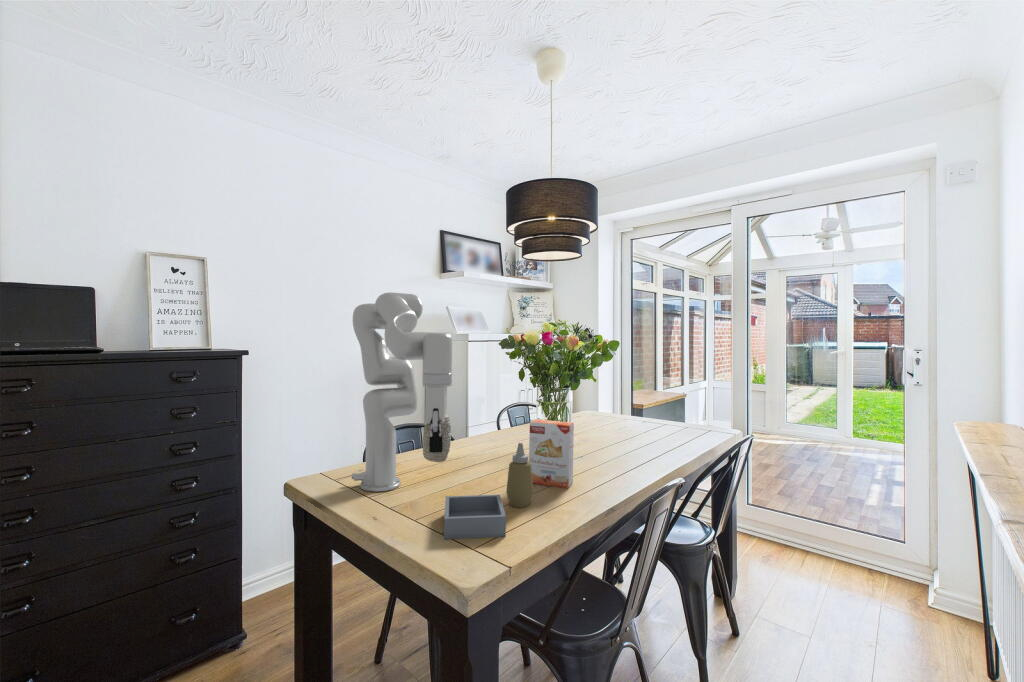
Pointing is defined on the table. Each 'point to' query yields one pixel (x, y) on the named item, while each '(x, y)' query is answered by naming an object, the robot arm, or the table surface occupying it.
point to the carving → (445, 442)
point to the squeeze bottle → (520, 479)
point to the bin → (474, 517)
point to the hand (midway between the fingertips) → (436, 447)
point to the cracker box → (551, 452)
